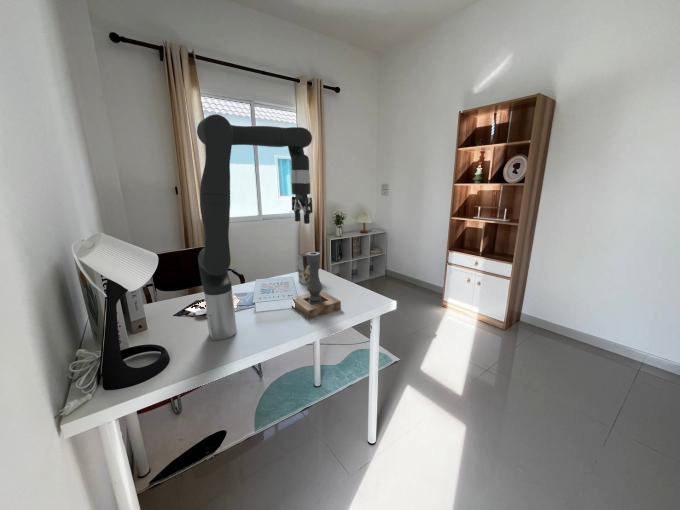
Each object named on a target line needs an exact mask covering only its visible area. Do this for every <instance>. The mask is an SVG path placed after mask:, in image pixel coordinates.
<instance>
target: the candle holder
mask: <svg viewBox="0 0 680 510" xmlns="http://www.w3.org/2000/svg"><path fill="white" fill-rule="evenodd" d="M306 253H307V252H306ZM320 261H321V252H318V251H309V253H307V262H308V264H309V267H308V269H309V271H310V279H309V283H307V284H308V285H307V291H308V294H309V293H310V297H309V301H308V303H309V304H311V305H314V304H318V303H321V302H322V300H321V299H322V298H321V296H320V295H319V294H320V292H321V290H322V283H321V280H320V276H319V275H320V274H319V270H320V269H321V266H319V265H320ZM322 291H323V290H322Z"/></svg>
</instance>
